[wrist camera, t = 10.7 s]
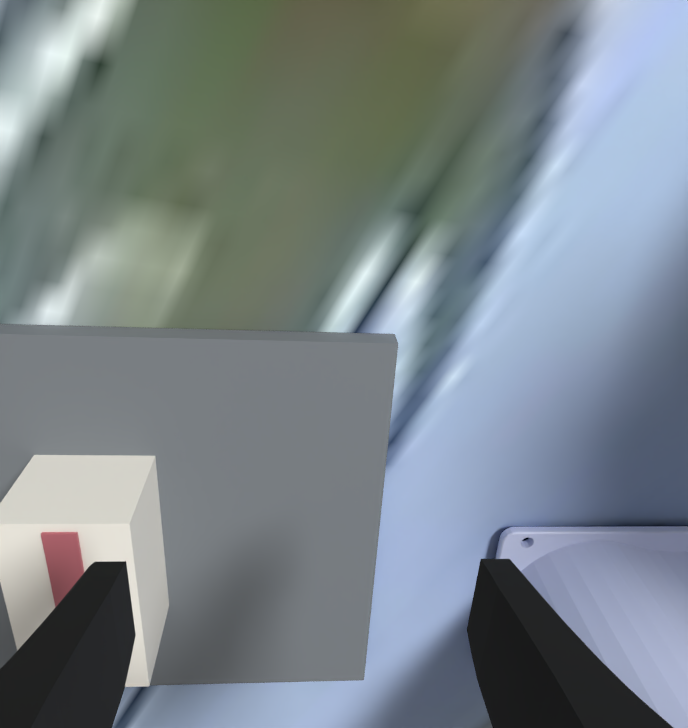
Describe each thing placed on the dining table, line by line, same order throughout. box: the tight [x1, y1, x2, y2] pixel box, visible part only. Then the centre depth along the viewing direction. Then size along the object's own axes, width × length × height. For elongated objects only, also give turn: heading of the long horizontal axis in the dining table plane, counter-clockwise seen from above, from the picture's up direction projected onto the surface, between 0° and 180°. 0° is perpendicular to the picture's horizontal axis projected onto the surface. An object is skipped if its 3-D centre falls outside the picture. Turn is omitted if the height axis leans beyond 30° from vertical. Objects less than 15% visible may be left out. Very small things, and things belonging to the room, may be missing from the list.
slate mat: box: [0, 324, 398, 685], centre depth 22 cm, size 20×16×1 cm
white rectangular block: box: [0, 455, 169, 687], centre depth 20 cm, size 7×4×4 cm, turn 177°
